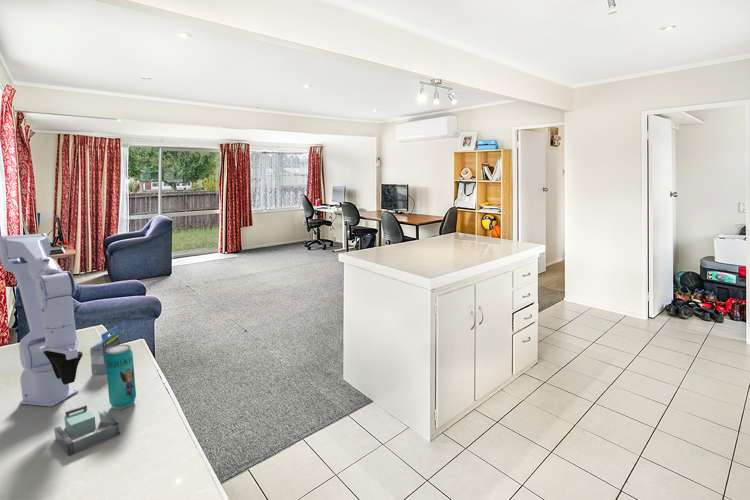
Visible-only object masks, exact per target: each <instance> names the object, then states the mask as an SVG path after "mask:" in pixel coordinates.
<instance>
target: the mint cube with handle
mask: <svg viewBox="0 0 750 500" xmlns="http://www.w3.org/2000/svg"><path fill="white" fill-rule="evenodd" d="M63 417H64V418H63V419H64V426H65V430H67V432H68V434H69V435H70V436H71V438H74V437H76V436H78V435H82V434H84V433H86V432H89V431H92V430H95V429H96V428H97V427H96V425H97V424H96V417H95V415H94V414H93V413H92V412H91V411H90V409H89V408H88V405H83V406H80V407H77V408H73V409H71V410H68V411H65V415H64V416H63Z"/></svg>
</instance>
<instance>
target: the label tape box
mask: <svg viewBox="0 0 750 500" xmlns="http://www.w3.org/2000/svg"><path fill="white" fill-rule="evenodd" d="M110 334H111V335H110ZM119 334H120V333H119V327H118V325H115V326H114V327H112V328H110V329H109V330H107V331H105V332H104V333H102V334H100V336H101V340H100V341H99V342H98V343H96V344H94V345H93V346H92V347H90V349H89V350H90V351H89V353H90V363H91V365H90V367H91V375H96V376H97V375H98V376H100V375H107V371H106V361H105V356H106V353H107V352H106V350H107V349H108V348H110V347H113V346H117V345H120V339H119V338H120V335H119Z"/></svg>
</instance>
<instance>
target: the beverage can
mask: <svg viewBox="0 0 750 500" xmlns="http://www.w3.org/2000/svg"><path fill="white" fill-rule="evenodd" d="M106 352H107V353H106V356H105V361H106V371H107V373H106V378H107V379H106V380H107V390H108V400H109V404H110V405H111V407H112V408H113V409H115V410H123V409H126V408H129V407H131V406H132V405H133V404H134V403H135V401H136V397H137V391H136V380H135V379H136V378H135V368H134V367H135V366H134V355H133V353H134V352H133V350H132V349H131V345H129V344H119V345H117V346H113V347H110V348H108V349H107V350H106Z"/></svg>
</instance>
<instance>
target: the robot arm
mask: <svg viewBox="0 0 750 500" xmlns="http://www.w3.org/2000/svg"><path fill="white" fill-rule="evenodd" d="M51 248H52V247H51V241H50V238H49V236H48V235H47V234H46V233H45V232H42V233H34V234H32V233H31V234H19V235H18V234H17V235H0V265H1V266H2V267H3V271H5V272H9V273H12V274H13V275H14V278H15V280H16V282H17V286H18V289H19V293H20V297H21V300H22V304H23V305H22V306H23V308H24V313H25V316H26V320H27V325H28V329H29V332H28V333H27V334H25V335H24V336H23V337H22V338H21V339H20V341H19V342H18V343H19V344H18V350H19V358H20V364H21V366H22V368H23V371H22V372H21V374H20V387H21V389H20V390H21V396H22V397H21V398H22V400H20V401H19V404H21V405H31V406H40V407H41V406H42V407H53V406H55V405H57V404H59V403H60V402H62V401H64V400H66V399H68V398H69V397H71V396H73V395H74V394H76V393H78V392H79V389H74V388H70V386H69V384H72V383H75V381H76V377H77V370H78V365H79V364H80V361H81V359H82V357H83V354H84V353H83V352H82V351H78V345H79V341H78V338H77V330H76V328H77V327H76V320H75V319H76V318H75V312H74V311H75V310H74V300H73V296H75V295H76V281H75V279H74V276H73V274H72V272H71V271H69V270H68V271H67V270H64V271H63V269H62V268H61V266H60V265H59V264H58V262H57V260H55V259H54V258H52V257H50V255H51Z"/></svg>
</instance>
